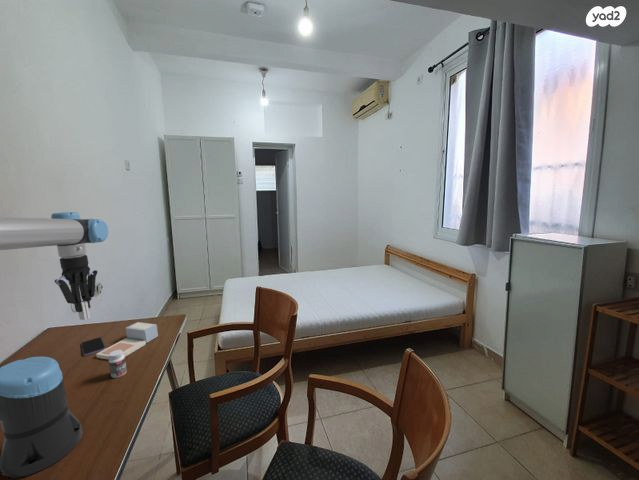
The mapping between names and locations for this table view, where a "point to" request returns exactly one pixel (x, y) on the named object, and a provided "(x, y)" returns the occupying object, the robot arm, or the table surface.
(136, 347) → the board
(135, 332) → the blue framed panel box
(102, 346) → the smartphone
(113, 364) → the pill bottle
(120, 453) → the table surface
